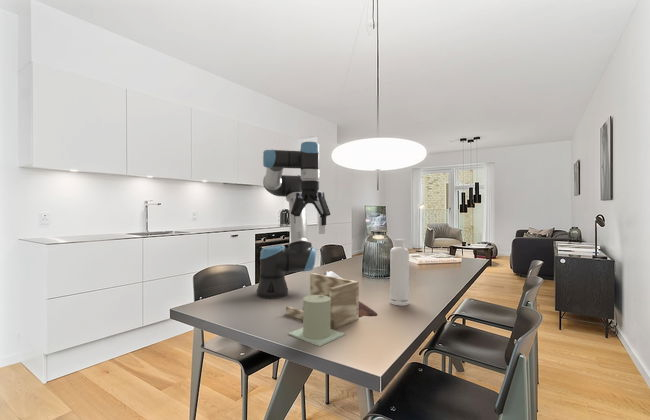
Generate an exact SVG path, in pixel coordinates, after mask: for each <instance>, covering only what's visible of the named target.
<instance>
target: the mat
mask: <svg viewBox="0 0 650 420" xmlns="http://www.w3.org/2000/svg"><path fill="white" fill-rule="evenodd" d="M330 331H331V334H330V336H328V337H326V338H323V339H310V338H307V337H305V336H304V335H303V327H300V328H299V329H296V330H295V329H294V330H293V331H290V332H288V335H289V336H291V337H293V338H294V337H295V338H297V339H299V340H302V341H305V342H306V343H309V344H312V345H315V346H317V347H322V346H324V345H327V344H328V343H332V342H333V341H336V340H337V339H339V338H342V337H344V336H345V333H344V332H341V331H338V330H335V329H333V330H332V329H330Z"/></svg>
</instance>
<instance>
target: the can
mask: <svg viewBox="0 0 650 420" xmlns="http://www.w3.org/2000/svg"><path fill="white" fill-rule="evenodd" d="M330 301H331V298H330V297H328V296H325V295H307V296H304V297H303V298H302V307H303V309H302V310H303V320H302V323H303V324H302V325H303V326H302V328H303V335H304V336H305V337H307V338H310V339H323V338H326V337H328V336H330V334H331V331H330Z"/></svg>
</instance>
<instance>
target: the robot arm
mask: <svg viewBox="0 0 650 420" xmlns="http://www.w3.org/2000/svg"><path fill="white" fill-rule="evenodd" d="M320 152H321V151H320V144H319V143H318V142H317V141H302V142H301V144H300V150H286V149H281V150H280V149H265V150H263V156H262V165H263V167H264V168H266V171H265V175H264V177H263V180H262V184H263V187H264V189H265V190H266V191H267V192H268V193H269V194H271V195H273V196H276V197H285V200H286V201H287V202H288V206H289V207H288V210H289V225H290V226H289V227H290V229H289V230H290V243H288V245H287V246H288V247H286V246H285V245H284V244H276V245H275V244H274V245H270V246H266V247H262V248H261V250H260V257H259V260H260V265H259V270H260V273H259V282H258V285H257V289H256V292H255V293H256V296H257V297H258V298H262V299H279V298H284V297H288V295H289V288H288V284H287V281H286V275H285V273H292V272H293V273H297V272H299V273H301V272H303V273H304V272H305V273H306V272H311V271H313V269H314V268H315V263H316V255H317V254H316V251H317V250H316V247H314V246H312V242H311V241H310V240H309V235H308V221H307V212H306V211H307V209H306V205H308V204H312V205H313V206H314V208H315V209H316V211H317V212H318V214H319V217H318V234H319V235H325V234H326V225H327V217H328V216H331V212H330V209H329V208H330V207H329V206H328V204H327V201H326V197H325V192H324V191H319V190H320V181H319V180H320ZM284 169H300V174H297V175H291V174H289V175H288V174H287V175H286V174H283V173H284V172H283V171H284Z"/></svg>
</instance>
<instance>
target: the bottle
mask: <svg viewBox="0 0 650 420" xmlns="http://www.w3.org/2000/svg"><path fill="white" fill-rule="evenodd" d="M393 240H394V245H393V247H392V248H390V251H389V256H390V257H389V258H390V259H389V260H390V261H389V262H390V267H389V268H390V269H389V270H390V271H389V275H390V276H389V290H390V291H389V303H390V304H392V305H395V306H400V307H401V306H408V305H409V304H410V299H409V298H410V251H409V249H408V248H407V247H406V245H405V241H406V238H394V239H393Z"/></svg>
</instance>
